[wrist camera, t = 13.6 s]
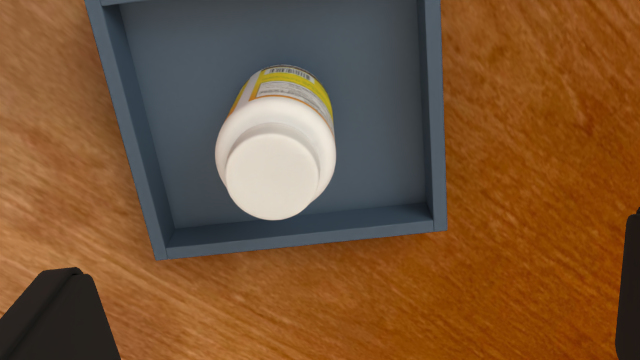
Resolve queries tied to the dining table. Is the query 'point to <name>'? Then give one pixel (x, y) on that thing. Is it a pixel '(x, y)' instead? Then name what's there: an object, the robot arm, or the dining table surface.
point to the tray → (224, 86)
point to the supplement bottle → (277, 143)
